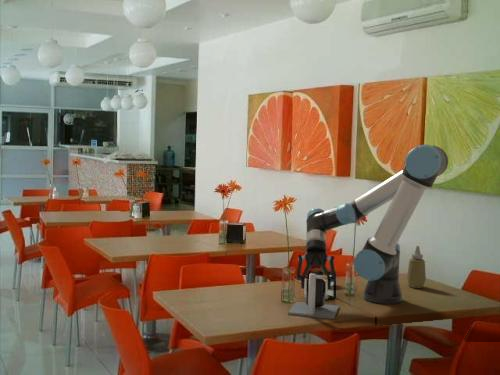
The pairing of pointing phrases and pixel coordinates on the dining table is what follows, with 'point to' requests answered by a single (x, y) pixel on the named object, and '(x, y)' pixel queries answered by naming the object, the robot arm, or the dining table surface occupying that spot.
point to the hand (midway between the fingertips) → (315, 296)
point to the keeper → (313, 303)
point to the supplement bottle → (317, 290)
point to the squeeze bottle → (416, 270)
